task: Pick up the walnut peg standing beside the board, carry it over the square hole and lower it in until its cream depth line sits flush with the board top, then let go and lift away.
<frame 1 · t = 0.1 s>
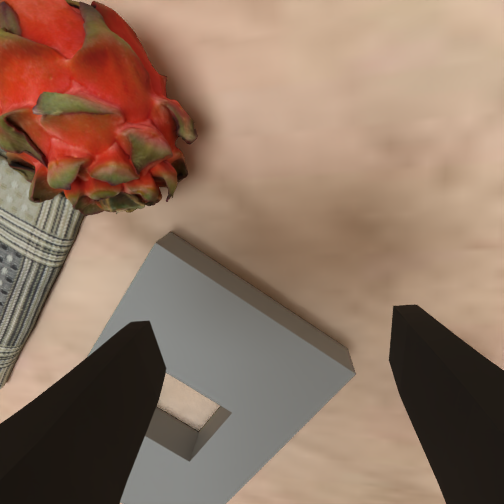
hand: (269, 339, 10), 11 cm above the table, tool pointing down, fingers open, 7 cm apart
hole board: (186, 390, 24), on the table
dragon fruit: (117, 117, 18), on the table
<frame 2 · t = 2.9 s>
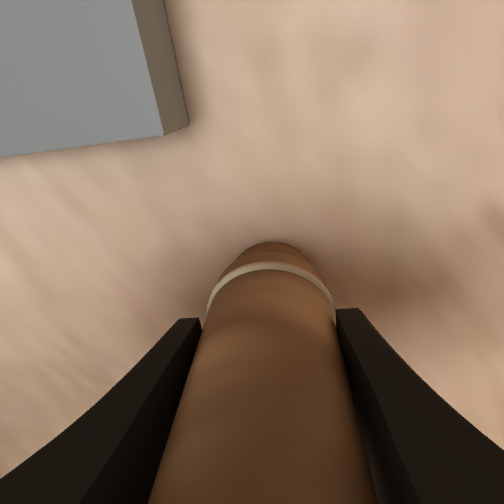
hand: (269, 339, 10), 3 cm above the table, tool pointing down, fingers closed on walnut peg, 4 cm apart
walnut peg: (271, 279, 13), on the table, touching gripper
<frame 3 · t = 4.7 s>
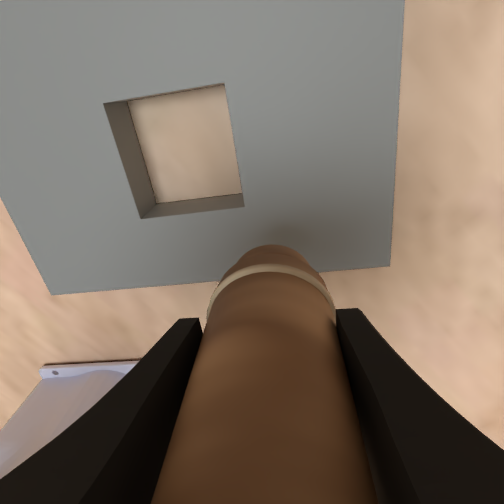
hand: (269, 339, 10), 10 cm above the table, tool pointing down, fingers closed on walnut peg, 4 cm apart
hole board: (190, 149, 17), on the table
walnut peg: (272, 280, 13), point 7 cm above the table, touching gripper
when the fingers open (4 cm above the table, at t = 6.8 s): walnut peg stays where it is, resting in hole board.
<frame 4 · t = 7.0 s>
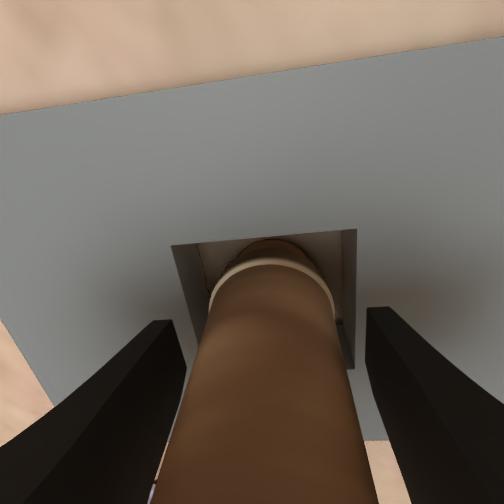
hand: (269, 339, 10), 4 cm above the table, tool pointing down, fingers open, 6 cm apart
hole board: (271, 274, 13), on the table
walnut peg: (272, 275, 13), resting in hole board
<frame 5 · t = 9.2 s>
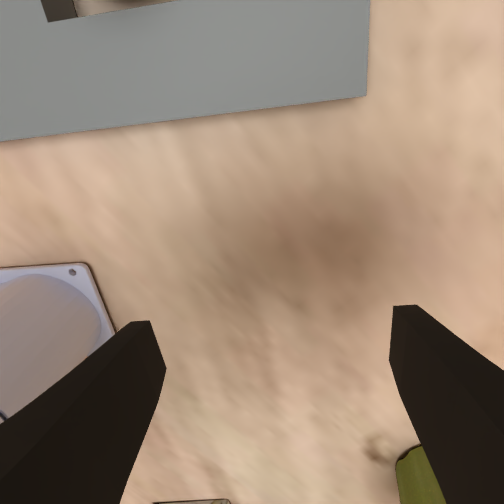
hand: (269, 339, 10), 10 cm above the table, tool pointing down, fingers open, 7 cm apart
plant pot: (434, 463, 29), on the table
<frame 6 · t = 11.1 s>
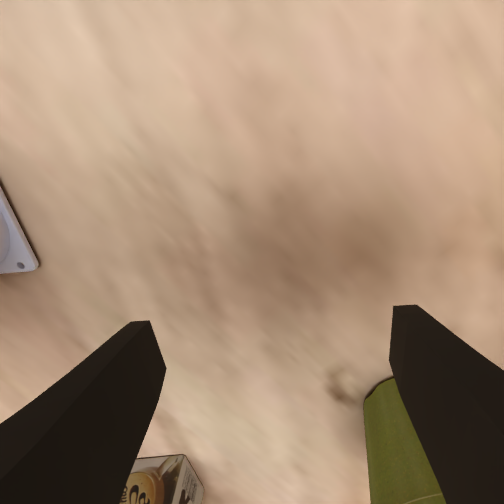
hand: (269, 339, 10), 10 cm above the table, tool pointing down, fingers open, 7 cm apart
plant pot: (407, 402, 25), on the table
coffee box: (156, 472, 33), on the table
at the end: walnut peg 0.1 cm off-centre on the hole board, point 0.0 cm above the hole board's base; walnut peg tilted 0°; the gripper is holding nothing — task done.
